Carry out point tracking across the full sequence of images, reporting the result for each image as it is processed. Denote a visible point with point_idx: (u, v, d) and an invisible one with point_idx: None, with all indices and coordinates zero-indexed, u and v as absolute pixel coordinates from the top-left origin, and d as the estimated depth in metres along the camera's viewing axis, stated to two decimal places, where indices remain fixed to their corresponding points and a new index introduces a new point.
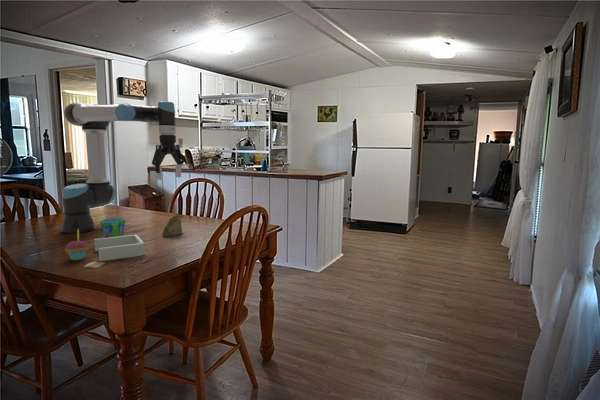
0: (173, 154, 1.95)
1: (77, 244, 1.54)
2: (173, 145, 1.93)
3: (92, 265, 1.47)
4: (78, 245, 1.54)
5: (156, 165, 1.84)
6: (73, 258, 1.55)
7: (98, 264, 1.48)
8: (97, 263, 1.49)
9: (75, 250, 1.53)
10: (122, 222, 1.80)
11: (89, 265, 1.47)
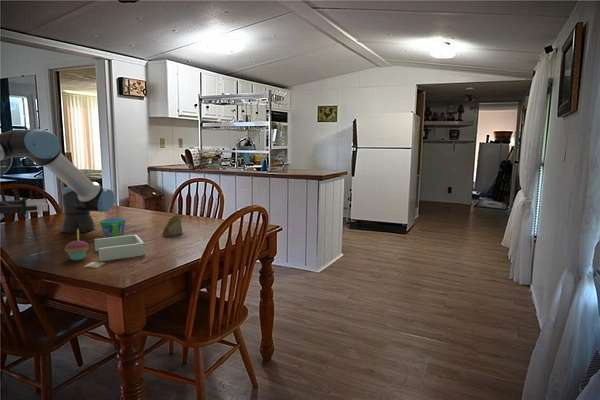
0: None
1: (77, 244, 1.54)
2: None
3: (92, 265, 1.47)
4: (78, 245, 1.54)
5: None
6: (73, 258, 1.55)
7: (99, 264, 1.48)
8: (97, 263, 1.49)
9: (75, 250, 1.53)
10: (122, 222, 1.80)
11: (89, 265, 1.47)
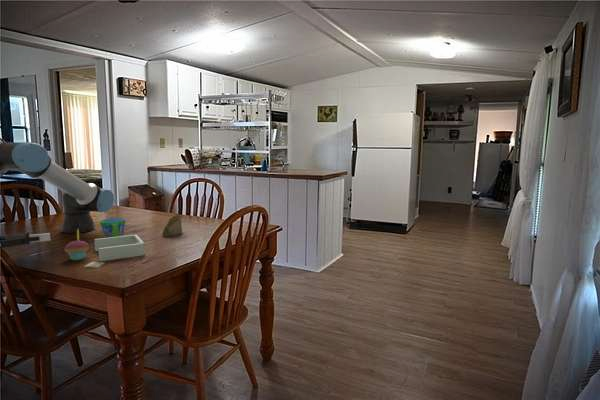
0: None
1: (77, 244, 1.54)
2: None
3: (92, 265, 1.47)
4: (77, 245, 1.54)
5: None
6: (73, 258, 1.55)
7: (99, 264, 1.48)
8: (97, 263, 1.49)
9: (75, 250, 1.53)
10: (122, 222, 1.80)
11: (89, 265, 1.47)
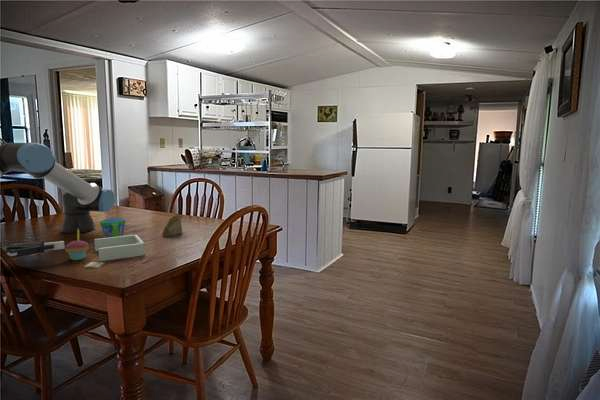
0: None
1: (77, 244, 1.54)
2: None
3: (92, 265, 1.47)
4: (78, 245, 1.54)
5: None
6: (73, 258, 1.55)
7: (99, 264, 1.48)
8: (97, 263, 1.49)
9: (75, 250, 1.53)
10: (122, 222, 1.80)
11: (89, 265, 1.47)
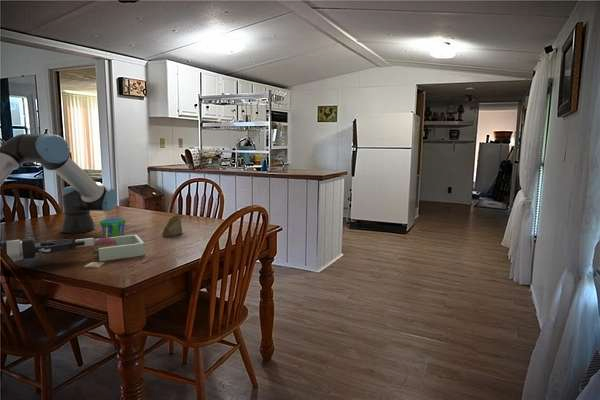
0: None
1: (106, 241, 1.59)
2: None
3: (93, 265, 1.47)
4: (106, 242, 1.59)
5: None
6: None
7: (99, 264, 1.48)
8: (97, 263, 1.49)
9: None
10: (122, 222, 1.80)
11: (89, 265, 1.47)
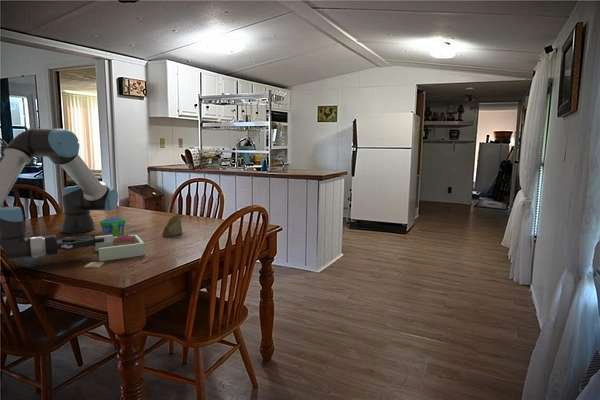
0: None
1: (124, 238, 1.63)
2: None
3: (93, 265, 1.47)
4: (124, 239, 1.63)
5: None
6: None
7: (99, 264, 1.48)
8: (97, 263, 1.49)
9: (122, 244, 1.62)
10: (122, 222, 1.80)
11: (89, 265, 1.47)
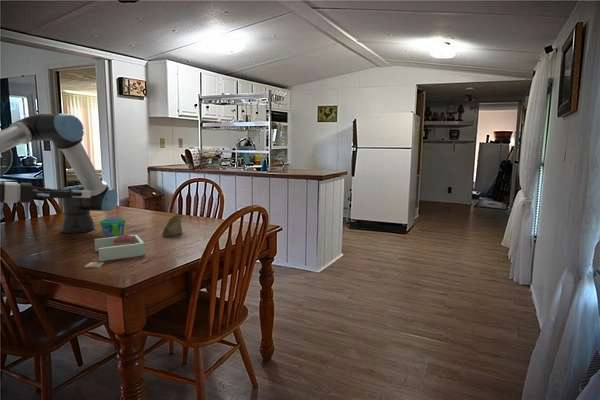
0: None
1: (124, 238, 1.63)
2: (36, 196, 1.45)
3: (93, 265, 1.47)
4: (125, 239, 1.63)
5: None
6: None
7: (99, 264, 1.48)
8: (97, 263, 1.49)
9: (122, 244, 1.62)
10: (122, 222, 1.80)
11: (90, 265, 1.47)
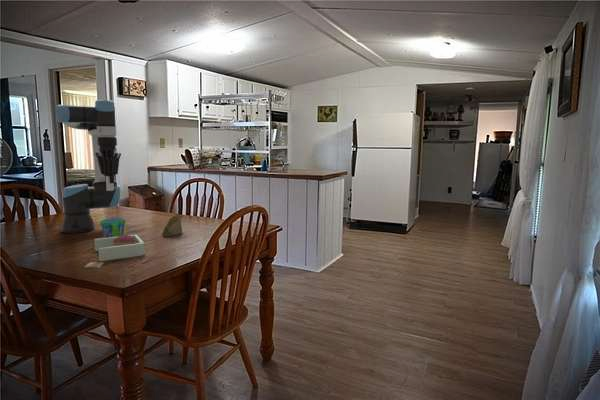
0: None
1: (124, 238, 1.63)
2: (110, 148, 1.70)
3: (93, 265, 1.47)
4: (125, 239, 1.63)
5: None
6: None
7: (99, 264, 1.48)
8: (96, 263, 1.49)
9: (122, 244, 1.62)
10: (122, 222, 1.80)
11: (90, 265, 1.47)
